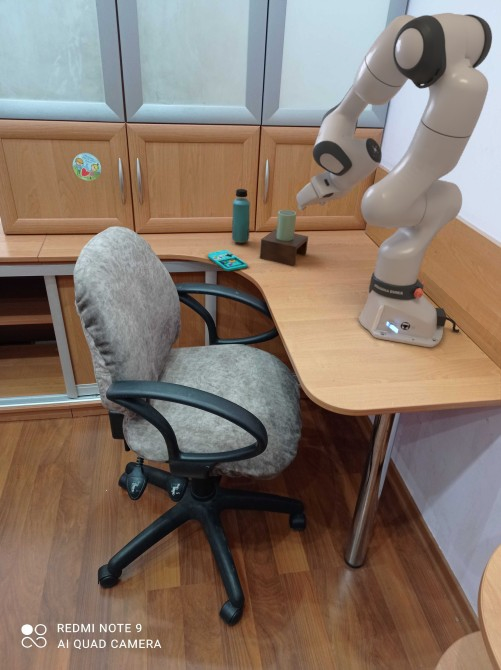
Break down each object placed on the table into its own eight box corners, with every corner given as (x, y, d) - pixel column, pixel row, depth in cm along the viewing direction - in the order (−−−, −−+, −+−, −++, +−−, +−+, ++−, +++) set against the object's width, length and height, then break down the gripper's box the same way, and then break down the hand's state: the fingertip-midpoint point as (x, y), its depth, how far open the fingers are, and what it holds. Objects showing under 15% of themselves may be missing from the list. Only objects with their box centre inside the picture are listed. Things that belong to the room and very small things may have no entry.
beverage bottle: (248, 246, 177) (251, 192, 166) (231, 245, 176) (232, 191, 166) (249, 240, 182) (251, 187, 171) (231, 239, 182) (233, 186, 171)
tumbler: (296, 236, 168) (299, 211, 163) (289, 242, 163) (292, 216, 158) (280, 233, 170) (282, 208, 165) (273, 238, 165) (275, 213, 160)
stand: (306, 254, 173) (308, 236, 169) (293, 266, 163) (295, 246, 160) (273, 247, 177) (274, 229, 173) (259, 258, 168) (261, 239, 164)
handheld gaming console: (226, 248, 171) (248, 264, 160) (226, 251, 171) (248, 267, 161) (205, 253, 167) (226, 268, 156) (205, 255, 167) (226, 271, 157)
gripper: (356, 168, 146) (328, 192, 158) (309, 176, 135) (283, 201, 147) (365, 186, 146) (336, 209, 158) (318, 196, 135) (292, 220, 146)
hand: (310, 205), depth 152 cm, fingers open, 8 cm apart
